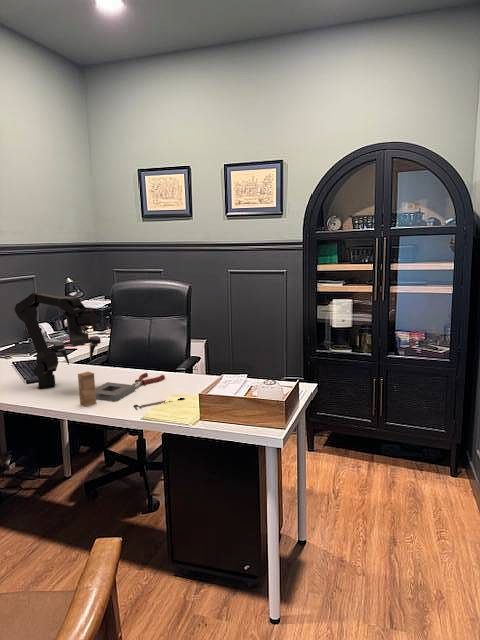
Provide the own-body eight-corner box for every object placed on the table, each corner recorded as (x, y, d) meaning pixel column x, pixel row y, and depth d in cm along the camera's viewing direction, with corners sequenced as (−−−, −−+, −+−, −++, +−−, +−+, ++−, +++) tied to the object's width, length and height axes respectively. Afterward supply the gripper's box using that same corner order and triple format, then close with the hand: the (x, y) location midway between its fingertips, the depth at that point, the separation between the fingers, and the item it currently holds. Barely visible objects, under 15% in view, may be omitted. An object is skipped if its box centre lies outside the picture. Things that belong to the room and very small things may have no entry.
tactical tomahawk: (137, 414, 172) (137, 411, 171) (133, 407, 177) (133, 405, 177) (189, 404, 181) (189, 401, 181) (184, 397, 187) (183, 395, 186)
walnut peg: (80, 404, 180) (77, 374, 178) (90, 401, 184) (87, 371, 182) (86, 406, 178) (83, 376, 175) (96, 403, 181) (93, 373, 179)
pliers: (119, 389, 199) (118, 384, 199) (145, 377, 217) (145, 371, 217) (140, 392, 195) (140, 387, 194) (166, 379, 213) (165, 374, 212)
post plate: (87, 397, 188) (86, 392, 187) (107, 387, 201) (107, 382, 200) (115, 401, 183) (115, 395, 182) (135, 390, 196) (134, 385, 195)
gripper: (52, 332, 182) (57, 370, 184) (100, 325, 189) (105, 362, 191) (51, 329, 192) (56, 365, 194) (96, 322, 199) (101, 357, 201)
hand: (80, 362), depth 195 cm, fingers open, 9 cm apart
